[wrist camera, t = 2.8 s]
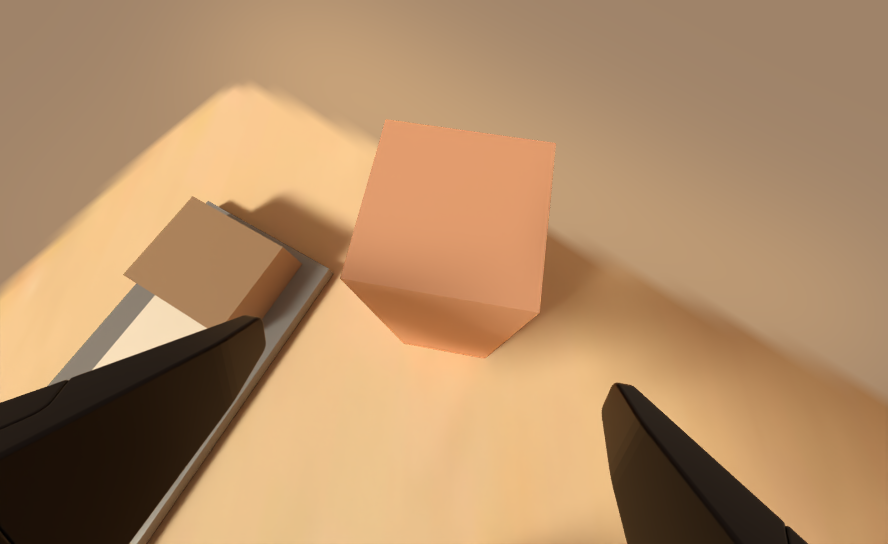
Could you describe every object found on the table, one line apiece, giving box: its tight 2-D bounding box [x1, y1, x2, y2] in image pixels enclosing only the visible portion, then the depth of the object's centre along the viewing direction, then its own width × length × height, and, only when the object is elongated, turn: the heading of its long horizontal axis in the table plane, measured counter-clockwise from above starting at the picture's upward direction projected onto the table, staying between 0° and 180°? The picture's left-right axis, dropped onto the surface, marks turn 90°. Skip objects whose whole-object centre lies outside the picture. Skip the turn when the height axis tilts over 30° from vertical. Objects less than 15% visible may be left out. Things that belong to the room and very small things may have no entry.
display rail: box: [48, 197, 333, 544], centre depth 17 cm, size 20×9×3 cm, turn 151°
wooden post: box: [340, 120, 556, 358], centre depth 14 cm, size 4×4×12 cm
